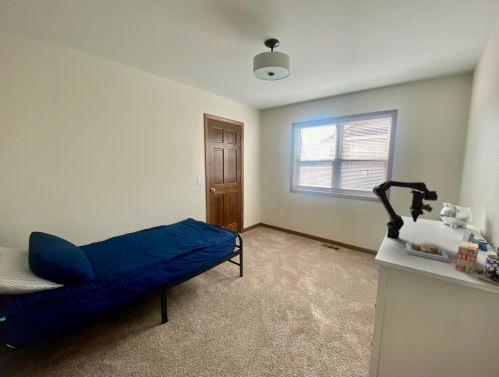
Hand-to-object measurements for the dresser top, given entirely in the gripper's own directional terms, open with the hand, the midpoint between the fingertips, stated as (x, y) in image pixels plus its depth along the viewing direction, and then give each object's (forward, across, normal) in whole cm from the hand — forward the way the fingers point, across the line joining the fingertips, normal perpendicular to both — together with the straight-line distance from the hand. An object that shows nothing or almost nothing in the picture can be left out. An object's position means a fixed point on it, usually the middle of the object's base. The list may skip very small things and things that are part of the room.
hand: (414, 221), depth 147 cm
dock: (+12, -28, -4) cm, 30 cm away
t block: (+12, -26, -4) cm, 29 cm away
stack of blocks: (+12, -34, -20) cm, 41 cm away
